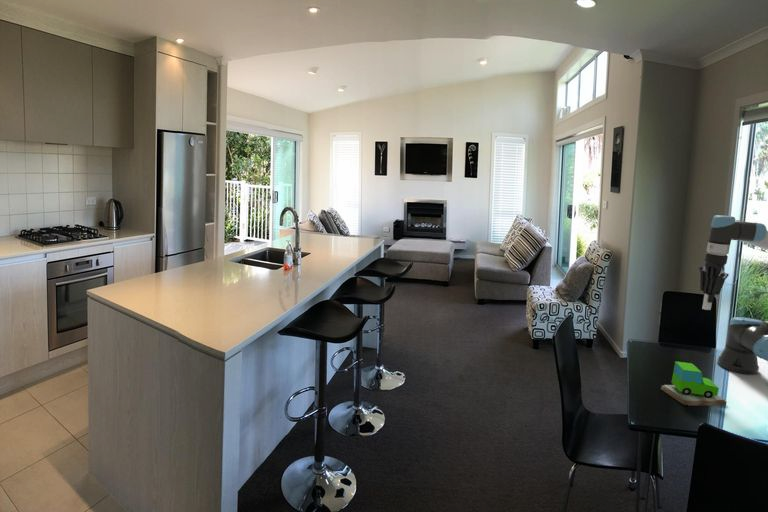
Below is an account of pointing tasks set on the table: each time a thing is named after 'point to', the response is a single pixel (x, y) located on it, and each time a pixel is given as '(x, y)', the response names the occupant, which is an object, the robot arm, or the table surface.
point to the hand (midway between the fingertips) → (706, 309)
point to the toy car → (692, 380)
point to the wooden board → (692, 397)
